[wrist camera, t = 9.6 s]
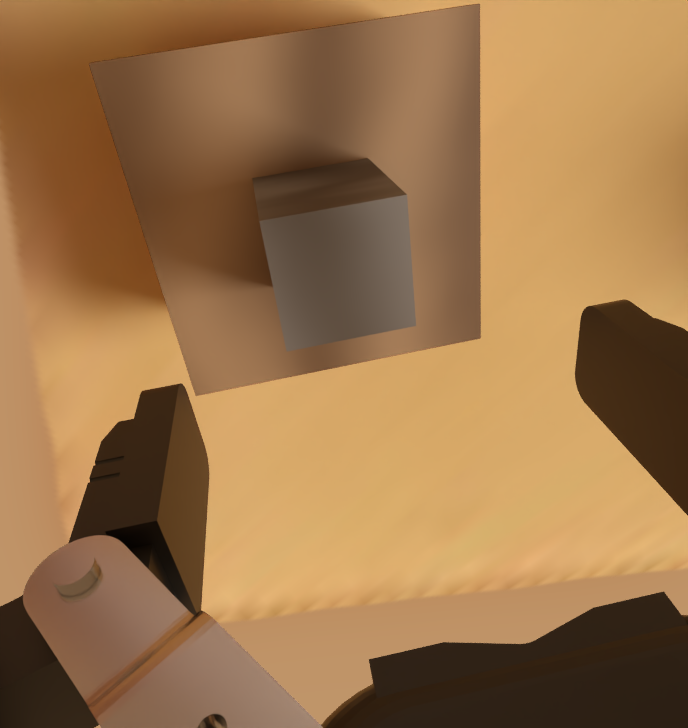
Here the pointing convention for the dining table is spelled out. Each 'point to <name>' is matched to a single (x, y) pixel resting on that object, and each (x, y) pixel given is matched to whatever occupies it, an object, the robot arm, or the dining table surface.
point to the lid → (308, 191)
